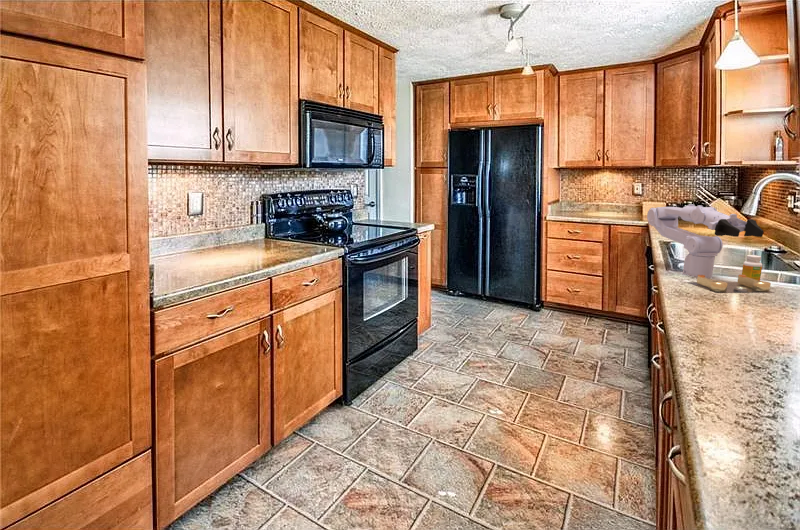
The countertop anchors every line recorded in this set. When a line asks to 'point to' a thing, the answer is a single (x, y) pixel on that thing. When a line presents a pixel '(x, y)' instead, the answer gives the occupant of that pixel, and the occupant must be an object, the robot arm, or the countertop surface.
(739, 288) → the grey metal plate
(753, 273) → the supplement bottle
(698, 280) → the knob
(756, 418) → the countertop surface
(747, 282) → the knob
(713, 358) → the countertop surface
